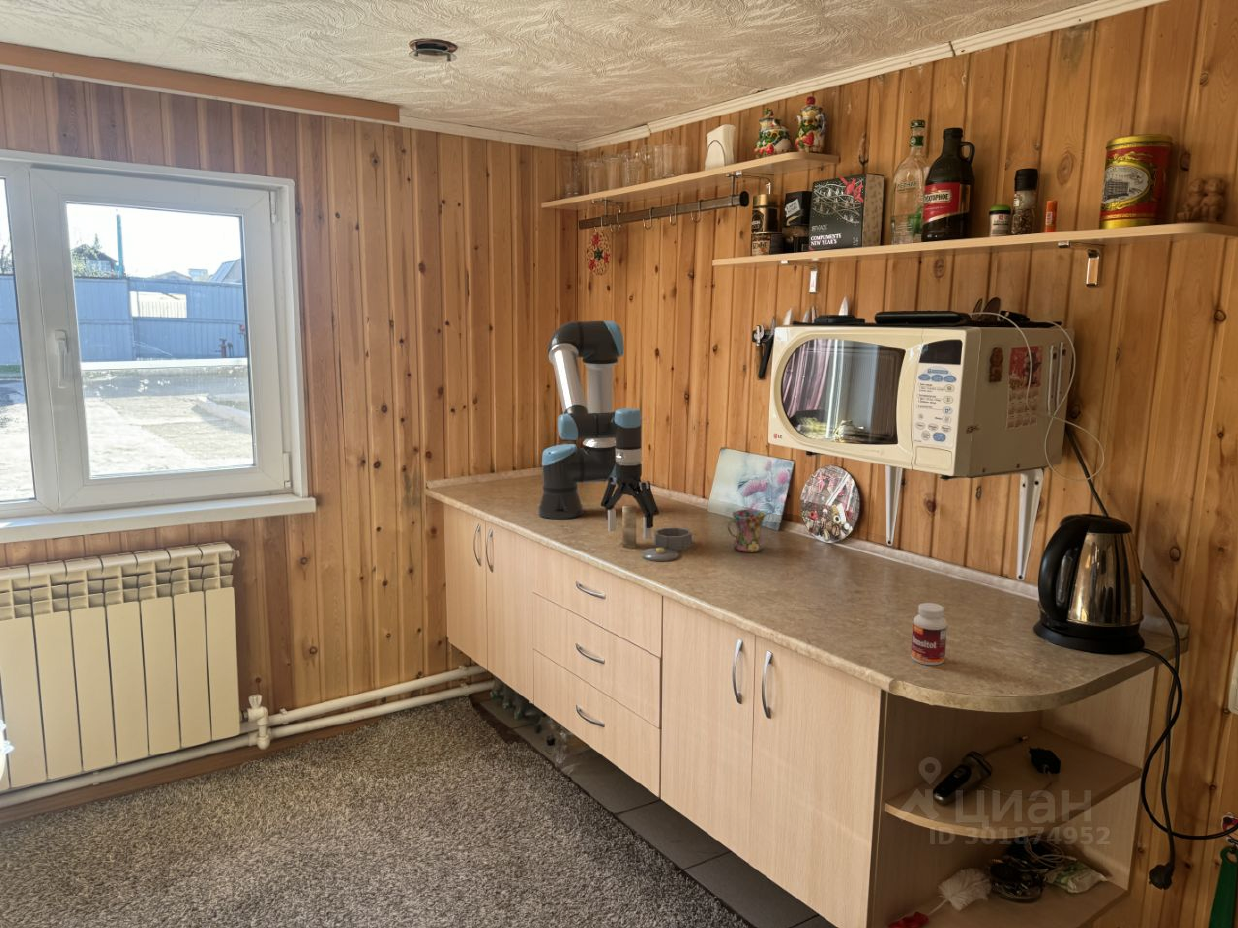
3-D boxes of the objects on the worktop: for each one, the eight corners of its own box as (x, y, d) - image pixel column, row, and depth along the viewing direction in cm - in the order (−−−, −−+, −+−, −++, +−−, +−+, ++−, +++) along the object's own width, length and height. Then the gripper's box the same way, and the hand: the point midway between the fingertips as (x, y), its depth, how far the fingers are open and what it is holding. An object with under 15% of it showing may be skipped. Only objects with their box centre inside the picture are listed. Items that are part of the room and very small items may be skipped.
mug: (751, 543, 253) (752, 508, 251) (771, 551, 245) (772, 514, 243) (718, 549, 247) (718, 513, 245) (737, 557, 239) (737, 520, 237)
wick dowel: (619, 547, 251) (619, 507, 249) (628, 544, 254) (628, 504, 252) (630, 549, 248) (629, 509, 246) (639, 546, 251) (638, 506, 249)
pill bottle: (905, 660, 169) (908, 607, 167) (918, 651, 174) (921, 599, 172) (937, 669, 165) (940, 614, 163) (949, 659, 169) (952, 606, 167)
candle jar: (647, 546, 251) (647, 532, 251) (669, 538, 259) (669, 525, 258) (676, 552, 244) (676, 539, 244) (698, 544, 252) (698, 531, 252)
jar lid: (635, 557, 241) (635, 549, 240) (657, 549, 248) (657, 541, 248) (663, 563, 234) (663, 555, 234) (685, 555, 242) (685, 547, 241)
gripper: (588, 459, 252) (589, 530, 255) (654, 469, 236) (654, 544, 239) (605, 456, 257) (606, 525, 261) (671, 465, 241) (671, 538, 245)
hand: (629, 534), depth 250 cm, fingers open, 13 cm apart
